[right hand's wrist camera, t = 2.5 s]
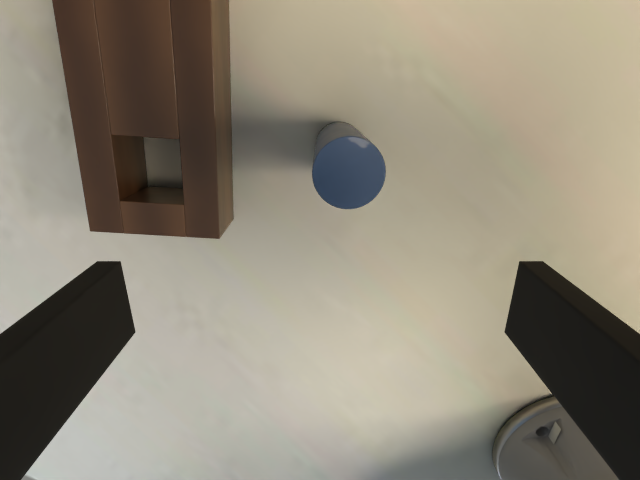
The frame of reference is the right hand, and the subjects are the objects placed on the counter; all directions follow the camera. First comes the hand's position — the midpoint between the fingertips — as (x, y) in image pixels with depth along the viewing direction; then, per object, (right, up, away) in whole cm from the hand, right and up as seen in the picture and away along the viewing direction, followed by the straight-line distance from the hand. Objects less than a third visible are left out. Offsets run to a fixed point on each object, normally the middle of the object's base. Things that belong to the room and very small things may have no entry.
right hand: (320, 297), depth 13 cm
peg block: (-12, +17, +16) cm, 26 cm away
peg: (+2, +10, +19) cm, 21 cm away
